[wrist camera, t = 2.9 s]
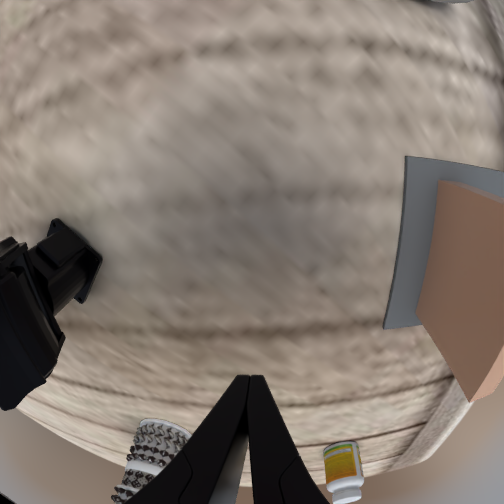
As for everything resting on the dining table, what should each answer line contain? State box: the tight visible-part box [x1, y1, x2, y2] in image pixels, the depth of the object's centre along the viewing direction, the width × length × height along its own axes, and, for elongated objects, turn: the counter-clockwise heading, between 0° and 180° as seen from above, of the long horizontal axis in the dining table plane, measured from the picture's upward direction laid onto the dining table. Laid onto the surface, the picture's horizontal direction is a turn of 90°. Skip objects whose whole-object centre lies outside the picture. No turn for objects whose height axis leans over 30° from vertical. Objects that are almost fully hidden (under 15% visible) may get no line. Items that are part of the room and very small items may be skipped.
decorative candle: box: [111, 418, 192, 504], centre depth 21 cm, size 9×9×25 cm
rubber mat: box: [383, 156, 504, 330], centre depth 19 cm, size 17×15×1 cm
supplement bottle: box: [324, 441, 364, 504], centre depth 28 cm, size 5×5×10 cm
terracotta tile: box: [415, 180, 504, 403], centre depth 14 cm, size 3×12×11 cm, turn 3°
